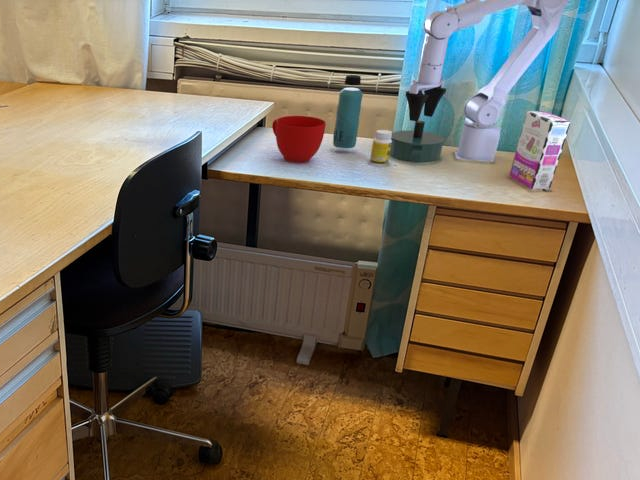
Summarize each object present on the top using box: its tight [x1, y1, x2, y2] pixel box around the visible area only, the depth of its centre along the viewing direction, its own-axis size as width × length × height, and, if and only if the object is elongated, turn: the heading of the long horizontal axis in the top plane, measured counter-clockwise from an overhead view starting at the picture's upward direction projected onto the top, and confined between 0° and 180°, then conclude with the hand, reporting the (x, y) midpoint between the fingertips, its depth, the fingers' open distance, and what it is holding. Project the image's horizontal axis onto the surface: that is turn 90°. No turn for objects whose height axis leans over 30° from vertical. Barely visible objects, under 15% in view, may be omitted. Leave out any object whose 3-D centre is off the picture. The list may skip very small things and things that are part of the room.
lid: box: [390, 120, 446, 146], centre depth 189 cm, size 14×14×5 cm
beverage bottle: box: [332, 74, 364, 149], centre depth 193 cm, size 6×7×20 cm
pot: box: [389, 138, 444, 163], centre depth 192 cm, size 13×19×5 cm
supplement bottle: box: [369, 129, 393, 165], centre depth 185 cm, size 5×5×8 cm
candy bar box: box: [508, 110, 572, 192], centre depth 169 cm, size 11×5×16 cm, turn 5°
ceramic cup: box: [271, 115, 327, 164], centre depth 189 cm, size 13×17×10 cm
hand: (420, 118), depth 187 cm, fingers open, 7 cm apart
